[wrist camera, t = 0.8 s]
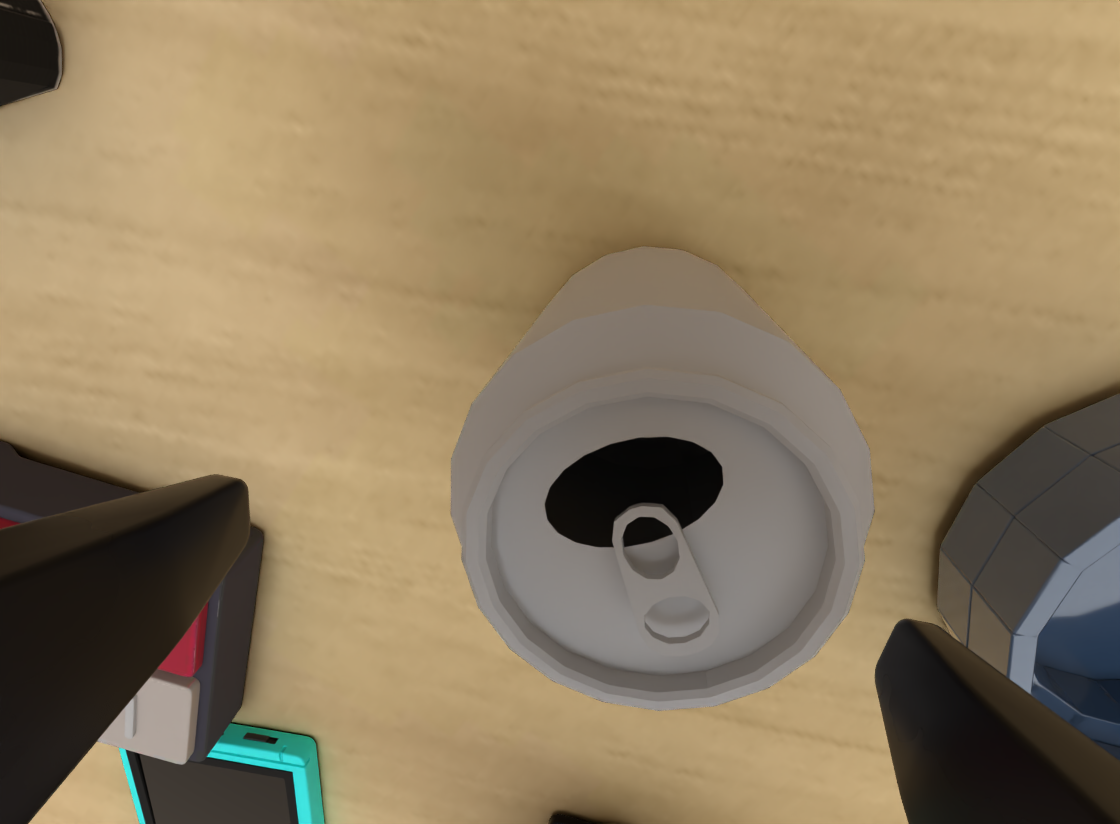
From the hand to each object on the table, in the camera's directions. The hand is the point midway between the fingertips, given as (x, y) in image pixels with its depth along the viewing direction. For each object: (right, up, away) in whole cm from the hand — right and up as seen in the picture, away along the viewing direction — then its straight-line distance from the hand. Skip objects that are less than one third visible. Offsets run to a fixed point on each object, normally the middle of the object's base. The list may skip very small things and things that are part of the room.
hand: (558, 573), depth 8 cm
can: (+3, +4, +12) cm, 13 cm away
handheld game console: (-17, -20, +24) cm, 36 cm away
